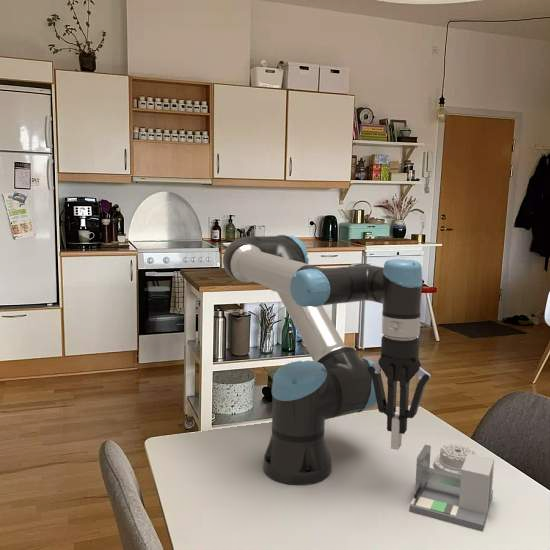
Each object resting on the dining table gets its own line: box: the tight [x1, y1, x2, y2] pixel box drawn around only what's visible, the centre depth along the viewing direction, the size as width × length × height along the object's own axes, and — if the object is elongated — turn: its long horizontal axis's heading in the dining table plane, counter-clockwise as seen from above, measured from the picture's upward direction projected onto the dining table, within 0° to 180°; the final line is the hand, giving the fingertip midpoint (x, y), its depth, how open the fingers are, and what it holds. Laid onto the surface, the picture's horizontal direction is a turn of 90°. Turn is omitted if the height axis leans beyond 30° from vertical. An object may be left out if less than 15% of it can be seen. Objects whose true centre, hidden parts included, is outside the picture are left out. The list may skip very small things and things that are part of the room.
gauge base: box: [409, 453, 495, 532], centre depth 111 cm, size 14×14×9 cm
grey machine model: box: [413, 444, 461, 499], centre depth 111 cm, size 11×10×7 cm
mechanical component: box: [433, 443, 476, 475], centre depth 126 cm, size 10×4×10 cm
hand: (396, 446), depth 117 cm, fingers closed
